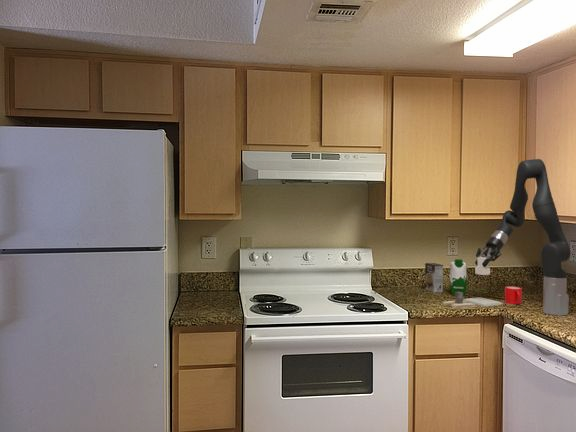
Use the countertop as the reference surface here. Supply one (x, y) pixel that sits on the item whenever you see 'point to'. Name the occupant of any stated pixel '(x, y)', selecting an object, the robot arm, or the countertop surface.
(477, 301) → the tile
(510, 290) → the mug
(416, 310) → the countertop surface
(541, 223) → the robot arm
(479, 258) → the white stepped block
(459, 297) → the post stand
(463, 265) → the milk carton
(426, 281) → the coffee box
